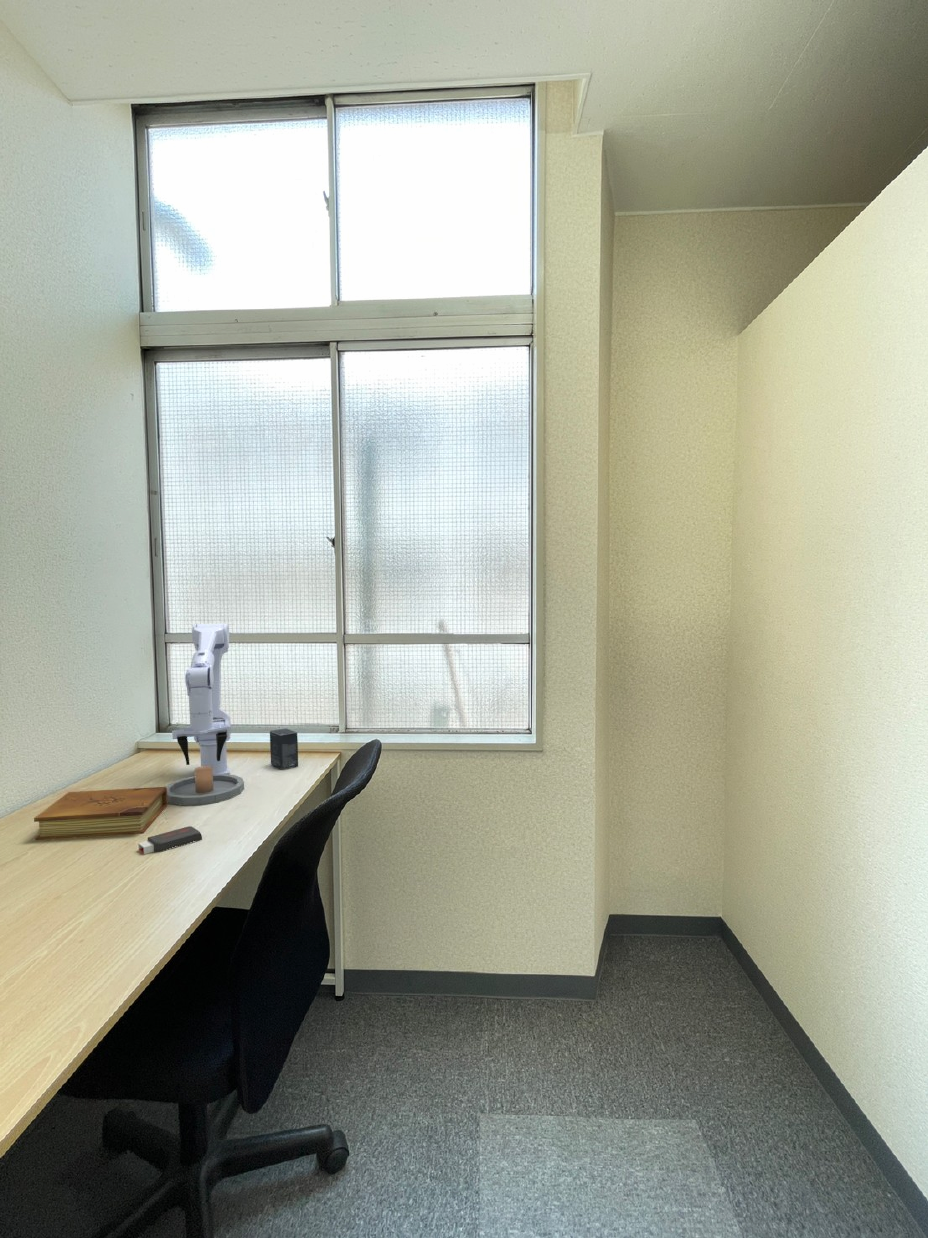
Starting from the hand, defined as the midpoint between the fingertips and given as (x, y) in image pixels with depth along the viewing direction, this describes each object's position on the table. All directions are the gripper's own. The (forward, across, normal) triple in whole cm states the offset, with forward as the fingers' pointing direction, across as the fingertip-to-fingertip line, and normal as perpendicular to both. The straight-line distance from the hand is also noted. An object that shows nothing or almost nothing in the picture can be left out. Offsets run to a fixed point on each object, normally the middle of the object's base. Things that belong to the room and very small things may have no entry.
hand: (203, 762), depth 184 cm
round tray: (+8, 0, 0) cm, 8 cm away
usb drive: (+9, -10, -34) cm, 36 cm away
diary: (+9, -23, -12) cm, 27 cm away
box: (+9, +24, +16) cm, 30 cm away
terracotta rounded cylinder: (+8, 0, 0) cm, 8 cm away
